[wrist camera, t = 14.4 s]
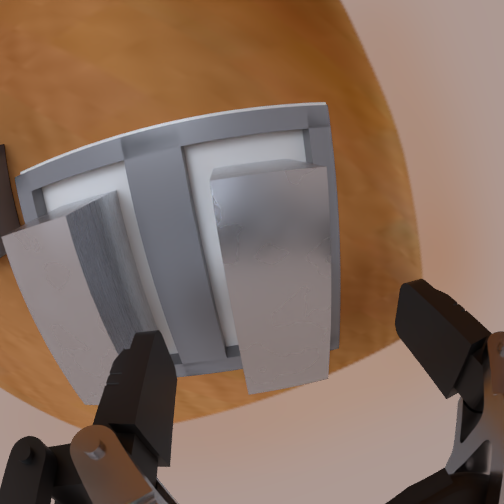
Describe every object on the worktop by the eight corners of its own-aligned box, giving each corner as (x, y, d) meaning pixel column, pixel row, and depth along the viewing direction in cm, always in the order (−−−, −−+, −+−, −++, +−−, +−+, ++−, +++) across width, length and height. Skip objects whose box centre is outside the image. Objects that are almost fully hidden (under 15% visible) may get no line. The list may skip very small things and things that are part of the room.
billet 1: (60, 205, 14) (1, 237, 9) (116, 190, 14) (65, 216, 9) (110, 342, 18) (84, 404, 12) (161, 337, 18) (146, 405, 13)
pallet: (30, 169, 14) (9, 174, 12) (318, 104, 15) (333, 99, 13) (100, 364, 20) (92, 383, 18) (333, 330, 21) (344, 350, 19)
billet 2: (239, 326, 18) (248, 394, 13) (213, 168, 15) (209, 180, 9) (299, 315, 19) (328, 378, 13) (287, 158, 15) (326, 166, 9)
